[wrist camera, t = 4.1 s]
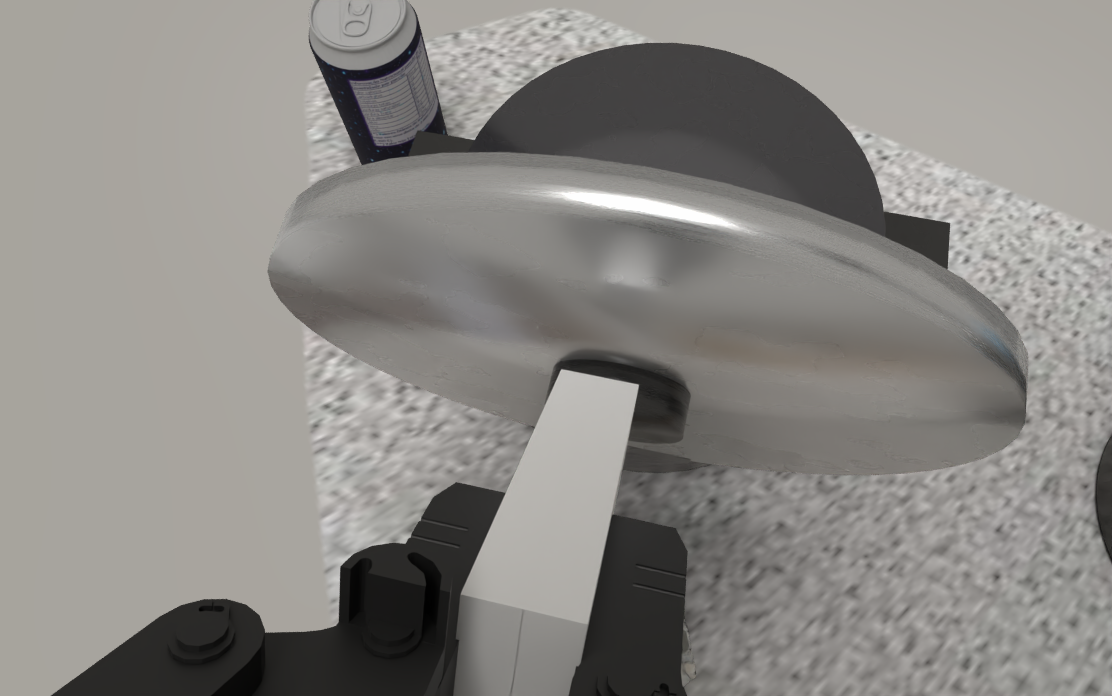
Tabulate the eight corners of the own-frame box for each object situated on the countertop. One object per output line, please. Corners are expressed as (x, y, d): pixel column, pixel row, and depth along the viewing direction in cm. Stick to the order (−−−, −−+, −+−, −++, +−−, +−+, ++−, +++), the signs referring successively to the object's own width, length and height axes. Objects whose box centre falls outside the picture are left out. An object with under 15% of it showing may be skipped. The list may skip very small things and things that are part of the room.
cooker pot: (891, 198, 48) (963, 86, 39) (862, 522, 41) (942, 478, 32) (479, 127, 51) (456, 7, 42) (384, 417, 44) (331, 349, 35)
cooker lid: (1280, 277, 12) (1285, 424, 12) (867, 472, 32) (860, 532, 31) (117, 75, 15) (66, 188, 14) (391, 371, 34) (375, 425, 33)
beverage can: (455, 120, 52) (420, -32, 41) (446, 194, 50) (406, 55, 39) (369, 118, 52) (310, -33, 41) (356, 192, 50) (291, 54, 39)
